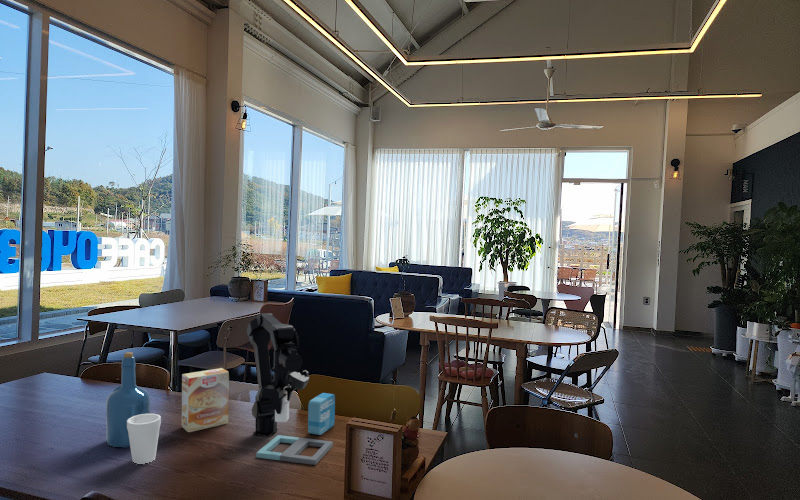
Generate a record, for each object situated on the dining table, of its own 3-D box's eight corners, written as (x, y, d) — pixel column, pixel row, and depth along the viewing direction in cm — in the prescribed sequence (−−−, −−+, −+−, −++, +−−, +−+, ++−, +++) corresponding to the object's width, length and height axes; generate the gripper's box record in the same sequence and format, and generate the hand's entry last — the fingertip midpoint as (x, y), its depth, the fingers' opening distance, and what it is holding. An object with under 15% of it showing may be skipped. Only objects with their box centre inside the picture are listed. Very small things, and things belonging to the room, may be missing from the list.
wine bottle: (156, 441, 182) (157, 353, 180) (114, 453, 172) (114, 359, 171) (140, 430, 191) (140, 346, 190) (99, 440, 181) (99, 352, 180)
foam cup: (127, 469, 161) (127, 426, 161) (126, 457, 169) (126, 416, 169) (161, 463, 166) (161, 421, 165) (159, 451, 174) (159, 411, 173)
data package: (318, 436, 189) (319, 402, 188) (307, 434, 190) (308, 401, 190) (334, 425, 200) (335, 393, 200) (324, 423, 202) (324, 391, 201)
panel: (256, 457, 171) (256, 452, 171) (277, 439, 186) (277, 435, 186) (315, 464, 167) (315, 460, 166) (332, 446, 181) (332, 441, 181)
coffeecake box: (188, 433, 190) (188, 378, 189) (180, 427, 195) (181, 373, 194) (229, 423, 200) (229, 371, 199) (221, 418, 205) (221, 367, 204)
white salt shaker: (286, 422, 175) (287, 393, 174) (274, 422, 175) (274, 393, 175) (289, 418, 179) (289, 390, 178) (277, 418, 179) (277, 389, 179)
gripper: (293, 374, 165) (292, 424, 166) (316, 359, 183) (316, 404, 184) (260, 370, 168) (259, 420, 168) (286, 356, 186) (285, 401, 187)
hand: (282, 411), depth 177 cm, fingers closed on white salt shaker, 4 cm apart
